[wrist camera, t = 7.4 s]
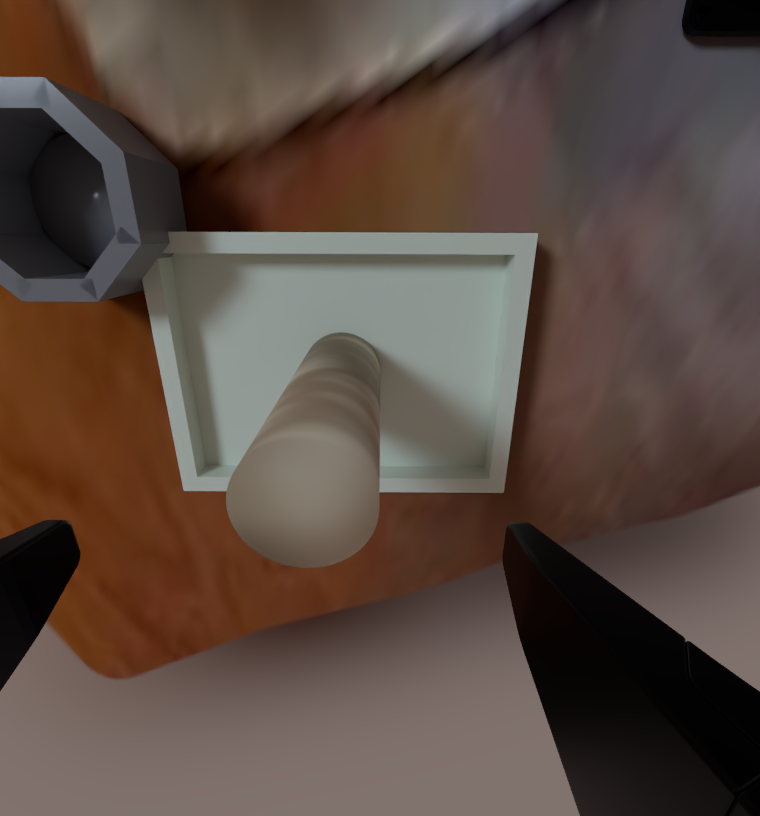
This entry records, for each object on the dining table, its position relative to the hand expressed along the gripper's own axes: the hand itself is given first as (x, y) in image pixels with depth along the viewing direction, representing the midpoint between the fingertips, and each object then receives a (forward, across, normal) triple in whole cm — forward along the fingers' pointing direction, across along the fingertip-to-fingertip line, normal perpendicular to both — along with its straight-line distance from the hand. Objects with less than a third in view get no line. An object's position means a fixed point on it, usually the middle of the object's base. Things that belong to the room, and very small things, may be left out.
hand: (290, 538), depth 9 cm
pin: (+12, 0, 0) cm, 12 cm away
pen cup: (+13, +10, -7) cm, 18 cm away
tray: (+13, 0, 0) cm, 13 cm away
